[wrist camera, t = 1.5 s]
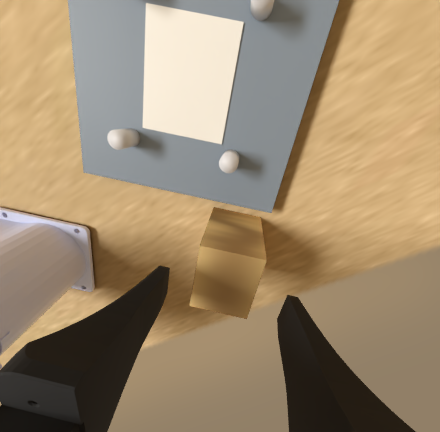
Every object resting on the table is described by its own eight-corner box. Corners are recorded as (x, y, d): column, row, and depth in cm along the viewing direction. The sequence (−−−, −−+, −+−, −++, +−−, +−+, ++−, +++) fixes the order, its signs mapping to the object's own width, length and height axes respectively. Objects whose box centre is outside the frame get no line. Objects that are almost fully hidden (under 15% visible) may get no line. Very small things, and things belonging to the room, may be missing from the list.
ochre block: (204, 255, 20) (189, 305, 15) (213, 207, 18) (199, 245, 13) (246, 264, 20) (246, 319, 15) (260, 217, 18) (266, 260, 12)
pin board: (92, 169, 18) (64, 178, 15) (71, -108, 11) (16, -179, 9) (270, 208, 17) (274, 224, 15) (352, -57, 11) (387, -114, 8)
